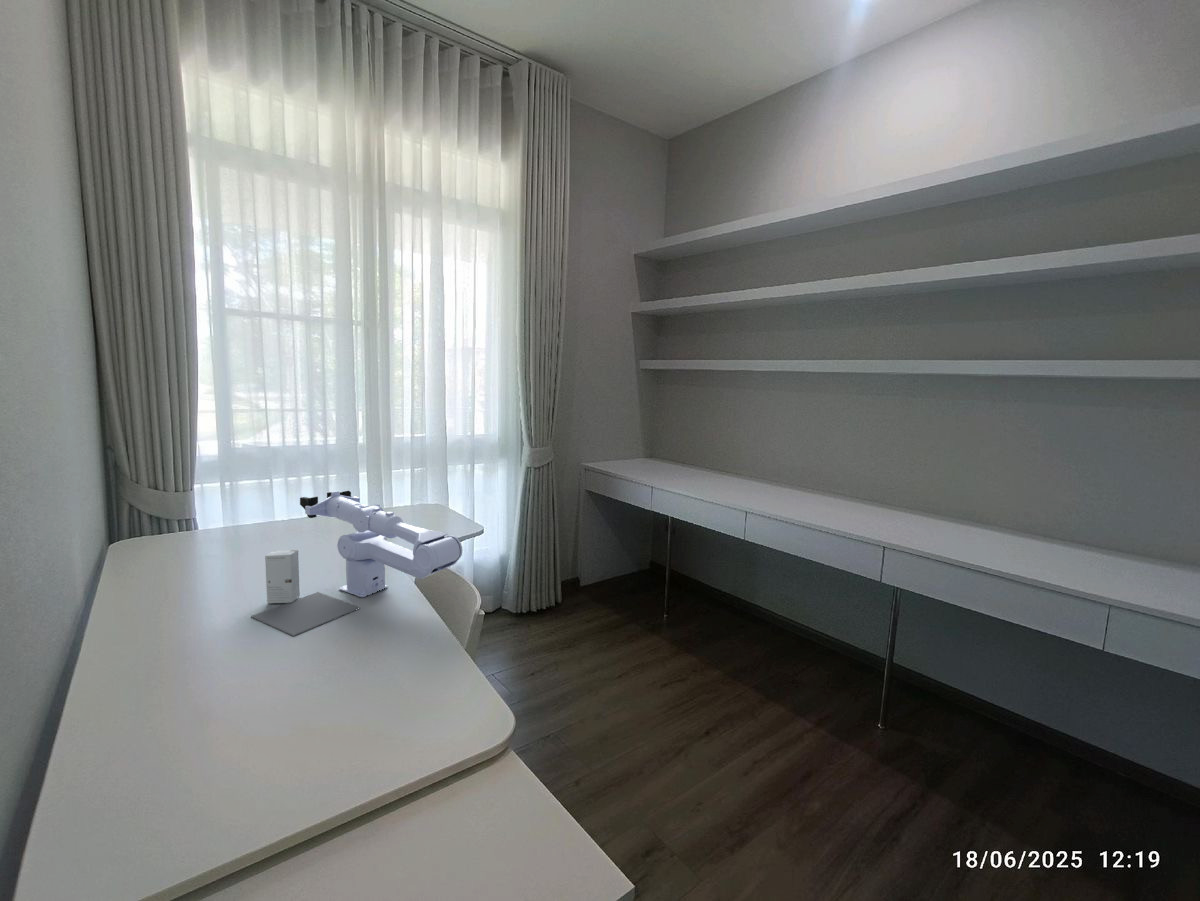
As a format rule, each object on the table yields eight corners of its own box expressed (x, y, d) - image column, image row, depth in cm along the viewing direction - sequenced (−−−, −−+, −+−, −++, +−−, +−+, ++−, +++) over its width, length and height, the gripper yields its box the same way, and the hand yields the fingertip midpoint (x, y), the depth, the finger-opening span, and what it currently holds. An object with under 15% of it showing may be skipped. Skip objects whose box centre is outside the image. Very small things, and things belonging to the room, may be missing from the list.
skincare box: (266, 604, 123) (262, 555, 122) (275, 597, 128) (272, 550, 127) (293, 602, 124) (290, 554, 123) (301, 595, 129) (298, 549, 127)
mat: (359, 608, 123) (359, 607, 123) (293, 636, 109) (293, 635, 109) (317, 593, 131) (317, 592, 131) (251, 617, 117) (251, 615, 117)
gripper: (370, 490, 140) (339, 480, 147) (320, 500, 128) (288, 488, 134) (369, 515, 142) (338, 503, 148) (319, 527, 129) (288, 514, 135)
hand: (314, 498), depth 141 cm, fingers open, 7 cm apart
